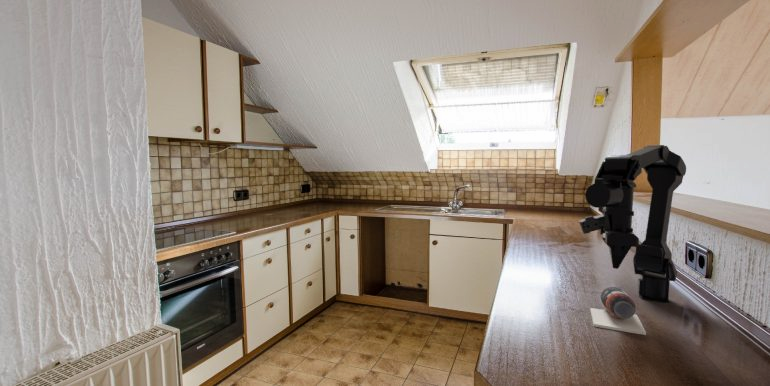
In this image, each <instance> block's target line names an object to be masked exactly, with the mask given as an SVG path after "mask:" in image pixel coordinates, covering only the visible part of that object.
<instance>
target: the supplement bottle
mask: <svg viewBox="0 0 770 386" xmlns="http://www.w3.org/2000/svg"><path fill="white" fill-rule="evenodd" d="M600 299H601V302H602V305H603V306H604V307H605V310H608V312H609V313H610V314H611V315H612V316H614V317H615V318H618V319H628V318H630V317H632V316H633V315H635V313H636V310H637V307H636V304H635V302H634V300H633V299H632V297H631V296H629V295H628V294H627V293H626V292H625V291H624V290H623V289H622V288H620V287H616V286H611V287H610V286H609V287H606V288H605V289H604V290H603V291H602V292H601V295H600Z"/></svg>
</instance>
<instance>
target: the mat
mask: <svg viewBox="0 0 770 386" xmlns="http://www.w3.org/2000/svg"><path fill="white" fill-rule="evenodd" d="M589 309H590V310H589V311H590V314H591V320H592V325H593V327H596V328H601V329H607V330H613V331H619V332H620V331H621V332H627V333H630V334H637V335H644V336H647V331H646V329H645V328H644V326H643V324H642V322H641V320H640V318H639V317H638V315H637V314H634V315H633V316H632V317H630V318H628V319H618V318H615V317H614V316H612V315H611V314H610V313H609V312H608V310H607V309H600V308H594V307H590V308H589Z"/></svg>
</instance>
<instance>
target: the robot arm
mask: <svg viewBox="0 0 770 386" xmlns="http://www.w3.org/2000/svg"><path fill="white" fill-rule="evenodd" d="M642 169H643V170H644V172H645V173H646V175H647V176H646V179H647V182H648V184H649V185H650V188H651V190H652V191H651V196H650V197H651V198H650V204H649V211H648V217H647V218H648V219H647V224H646V225H647V226H646V231H645V232H646V233H645V239H644V240H643V241H642V242H641V243H640V238H639V237H638V236H637V234H635V233H634V228H633V225H632V224H633V217H634V216H635V211H633V208H634V206H633V205H634V188H636V189H637V184H636V183H635V180H636V179H637V177H638V176H640V175H641V174H642V172H643V170H642ZM686 172H687V165H686V163H685V161H684V160H683V158H682V156H680V155H679V154H677V153H675V152H673V151H671V150H670V148H669V147H668V145H664V144H657V145H655V144H654V145H646V146H644V147H643V148H640V149H638V150H635V151H633V152H630V153H628V154H620V155H619V154H617V155H616V154H615V155H613V154H611V155H607V156H606V157H605V158H604V160H603V161H602V163H601V164H600V167H599V169H598V171H597V174H596V175H595V178H594V182H593V183H592V184H591V185H590V186H588V188H586V191H585V192H584V193H585V195H584V198H585V200H586V203H588V205H589V206H591V207H593V208H599V209H600V208H604V209H602V214H599V215H594V216H593V215H590V216H585V218H582V219H579V220H578V224H580V225H579V226H580V227H581V228H580V229H581V231H582V234H585V235H586V234H590V233H591V232H594V231H599V235H603V234H605V235H604V237H603V236H602V237H601V239H602V241H603V243H605V245H606V246H608V249H609V255H610V259H611V260H610V261H611V266H612V268H613V269H616V270H618V269H619V268H620V267H621V265H622V263H623V261H624V260H625V259H626V256H627V254H628V253H629V251H631V248H632V247H633V248H635V254H634V255H633V260H632V261H633V263H632V264H633V269H634V274H635V275H638V276H639V277H640V278H638V279H637V294H638V295H639V296H640V298H641V299H642V300H646V301H652V302H653V301H655V302H662V303H671V300H670V298H669V297H670V284H671V283H670V282H676V281H677V276H678V275H677V274H678V271H677V268H676V266H675V264H674V261H673V260H672V256H673V254H672V251H671V250H670V248H669V245H668V244H667V238H668V231H669V224H670V217H671V210H672V202H673V196H674V192H675V190H677V189H678V187H680V186H681V185H682V183H683V179H684V176H685V175H686ZM639 243H640V244H639Z"/></svg>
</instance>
